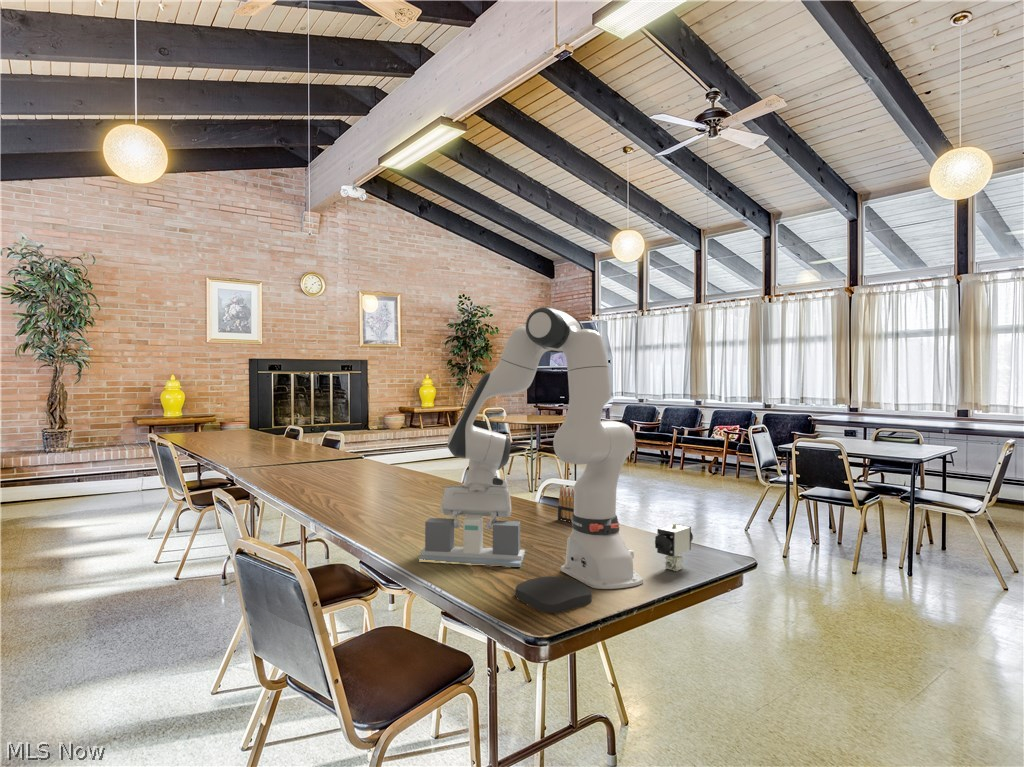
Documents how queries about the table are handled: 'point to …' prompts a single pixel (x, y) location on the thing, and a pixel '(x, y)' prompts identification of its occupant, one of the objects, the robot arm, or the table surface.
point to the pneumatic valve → (673, 544)
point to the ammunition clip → (566, 504)
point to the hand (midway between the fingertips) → (472, 527)
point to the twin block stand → (501, 554)
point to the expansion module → (473, 534)
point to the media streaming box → (553, 594)
